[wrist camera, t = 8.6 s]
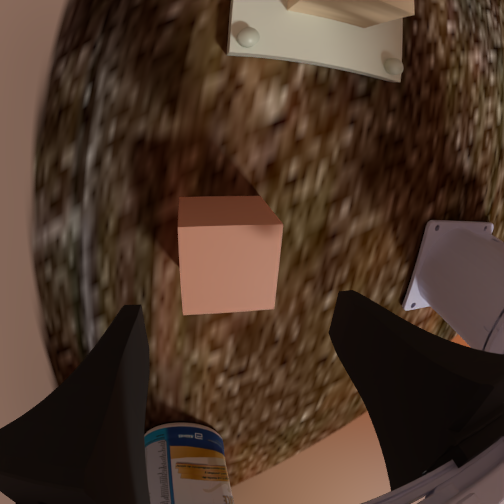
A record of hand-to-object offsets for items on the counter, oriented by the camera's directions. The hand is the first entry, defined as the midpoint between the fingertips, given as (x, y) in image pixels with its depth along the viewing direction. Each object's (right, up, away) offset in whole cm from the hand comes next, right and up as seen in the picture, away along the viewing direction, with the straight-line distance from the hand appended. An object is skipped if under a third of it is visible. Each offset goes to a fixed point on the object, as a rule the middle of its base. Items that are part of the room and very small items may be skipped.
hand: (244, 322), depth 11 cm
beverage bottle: (-7, -16, +16) cm, 24 cm away
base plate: (+4, +17, +1) cm, 18 cm away
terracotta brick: (-2, +4, +7) cm, 8 cm away
